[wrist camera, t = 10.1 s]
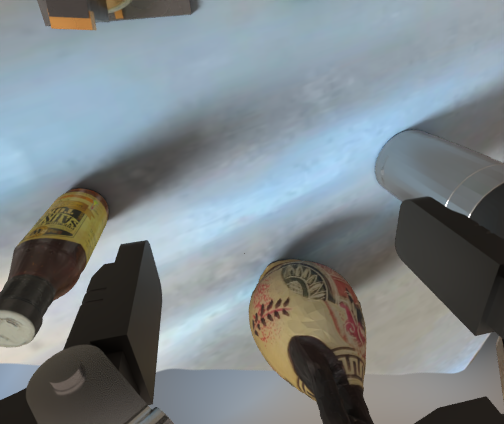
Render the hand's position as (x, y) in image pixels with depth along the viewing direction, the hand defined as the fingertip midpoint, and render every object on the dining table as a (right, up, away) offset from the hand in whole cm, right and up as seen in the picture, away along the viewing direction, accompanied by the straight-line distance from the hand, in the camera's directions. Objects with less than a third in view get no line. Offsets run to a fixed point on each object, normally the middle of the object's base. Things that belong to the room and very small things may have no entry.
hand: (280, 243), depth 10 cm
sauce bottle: (-22, +2, +32) cm, 39 cm away
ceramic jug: (+5, -9, +43) cm, 44 cm away
